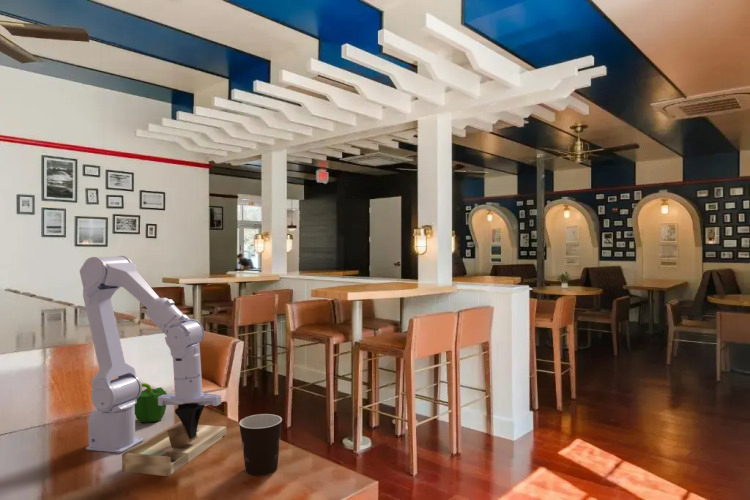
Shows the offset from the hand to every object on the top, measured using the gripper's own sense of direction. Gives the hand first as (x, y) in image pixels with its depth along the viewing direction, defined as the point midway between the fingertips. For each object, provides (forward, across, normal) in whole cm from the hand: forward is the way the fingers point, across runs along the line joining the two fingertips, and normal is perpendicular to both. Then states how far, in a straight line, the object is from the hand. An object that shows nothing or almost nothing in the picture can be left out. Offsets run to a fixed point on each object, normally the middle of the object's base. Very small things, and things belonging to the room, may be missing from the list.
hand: (191, 437), depth 115 cm
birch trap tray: (+4, -4, +1) cm, 5 cm away
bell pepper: (+3, -24, +18) cm, 31 cm away
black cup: (+5, +18, -2) cm, 19 cm away
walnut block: (+1, -2, 0) cm, 2 cm away
